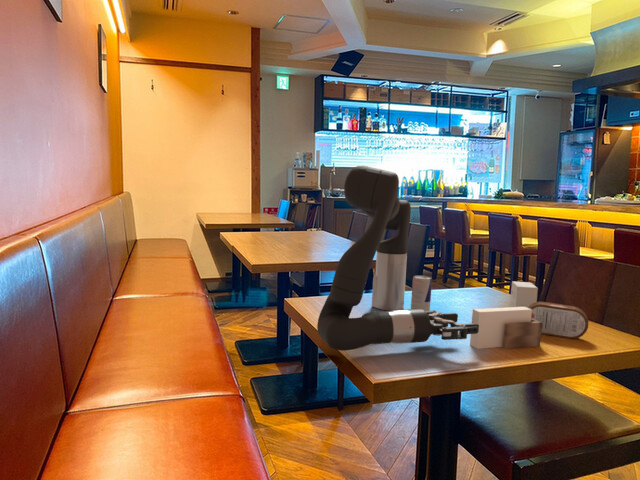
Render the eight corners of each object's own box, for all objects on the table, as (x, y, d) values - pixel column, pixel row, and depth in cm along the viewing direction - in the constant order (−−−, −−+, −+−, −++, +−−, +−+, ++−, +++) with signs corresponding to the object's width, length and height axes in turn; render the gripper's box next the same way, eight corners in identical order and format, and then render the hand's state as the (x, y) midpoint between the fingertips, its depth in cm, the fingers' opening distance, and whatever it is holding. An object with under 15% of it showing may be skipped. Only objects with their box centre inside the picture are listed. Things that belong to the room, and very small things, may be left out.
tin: (586, 339, 122) (590, 307, 121) (587, 342, 120) (590, 310, 119) (523, 329, 129) (526, 299, 128) (523, 332, 126) (526, 301, 125)
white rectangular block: (476, 349, 112) (479, 312, 110) (469, 345, 114) (472, 309, 113) (528, 344, 116) (531, 309, 115) (521, 341, 118) (524, 306, 117)
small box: (534, 324, 134) (538, 287, 133) (514, 322, 135) (517, 286, 134) (528, 316, 142) (531, 282, 140) (508, 314, 143) (511, 280, 141)
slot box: (505, 348, 112) (508, 324, 111) (489, 340, 118) (491, 317, 117) (540, 346, 115) (542, 322, 114) (522, 338, 121) (525, 315, 120)
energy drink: (432, 318, 135) (435, 277, 134) (422, 322, 131) (425, 280, 130) (416, 314, 139) (419, 274, 137) (406, 317, 135) (409, 276, 133)
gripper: (421, 319, 99) (487, 315, 104) (392, 302, 113) (451, 299, 118) (419, 353, 100) (484, 348, 105) (390, 332, 114) (449, 328, 119)
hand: (466, 322), depth 111 cm, fingers open, 8 cm apart
